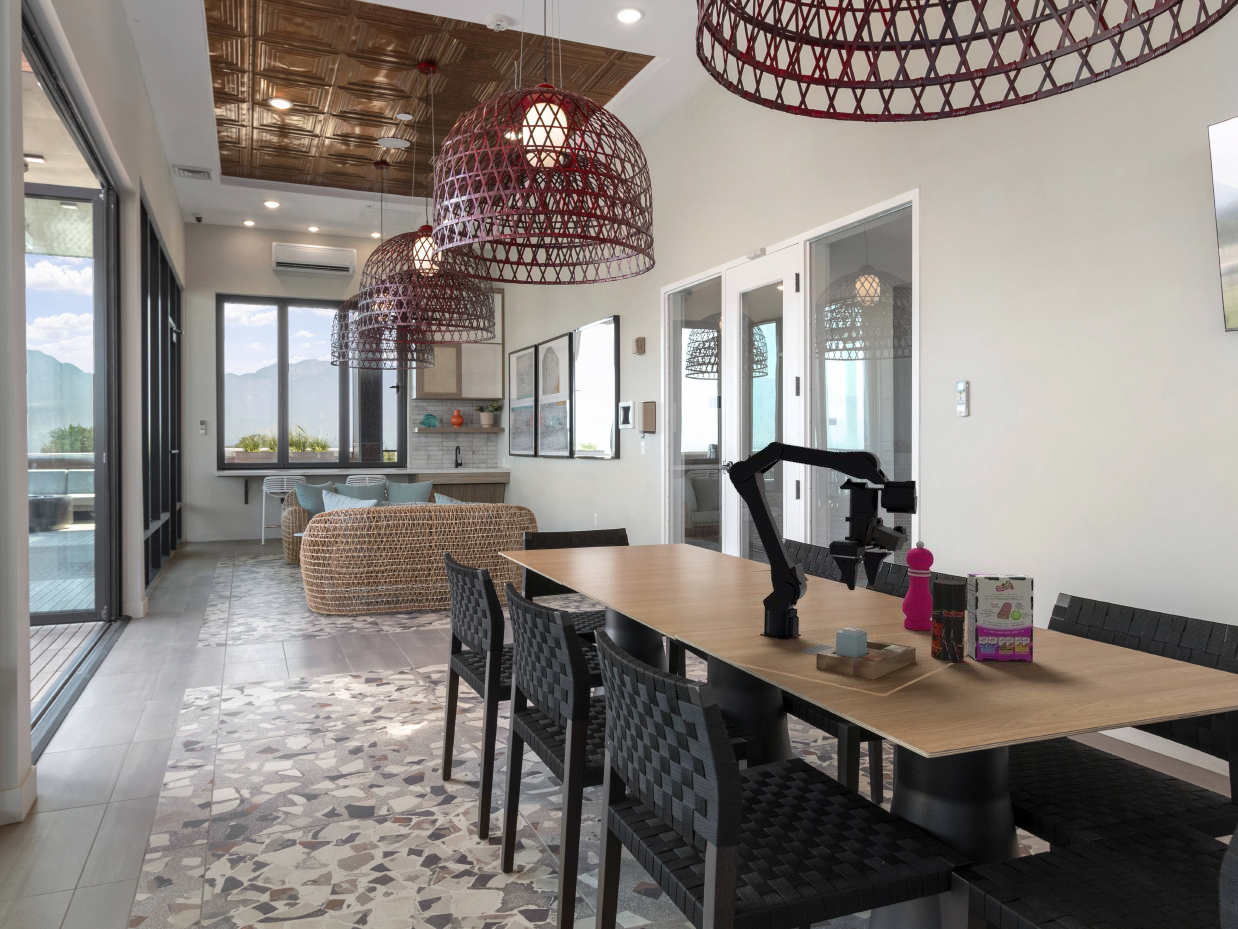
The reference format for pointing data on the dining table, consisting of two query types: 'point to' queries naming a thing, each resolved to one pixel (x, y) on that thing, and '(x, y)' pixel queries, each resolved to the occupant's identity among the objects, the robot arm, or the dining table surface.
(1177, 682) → the dining table surface
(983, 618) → the candy bar box
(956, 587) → the deodorant
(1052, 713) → the dining table surface
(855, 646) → the plug
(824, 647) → the pad
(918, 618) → the pepper mill
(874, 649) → the socket block
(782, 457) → the robot arm
